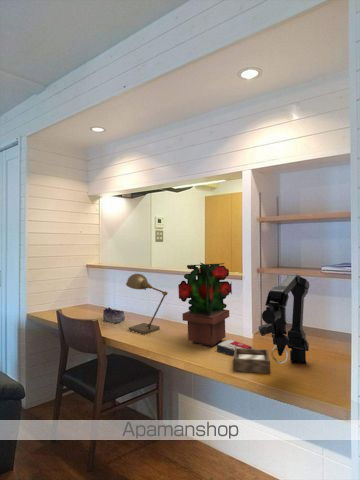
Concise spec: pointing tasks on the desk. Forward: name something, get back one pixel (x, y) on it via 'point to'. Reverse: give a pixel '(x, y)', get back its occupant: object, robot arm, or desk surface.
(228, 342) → the calculator
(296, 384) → the desk surface
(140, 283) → the lamp
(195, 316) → the potted plant
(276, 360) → the ring
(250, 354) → the base
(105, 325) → the desk surface
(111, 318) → the geode
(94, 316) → the desk surface
